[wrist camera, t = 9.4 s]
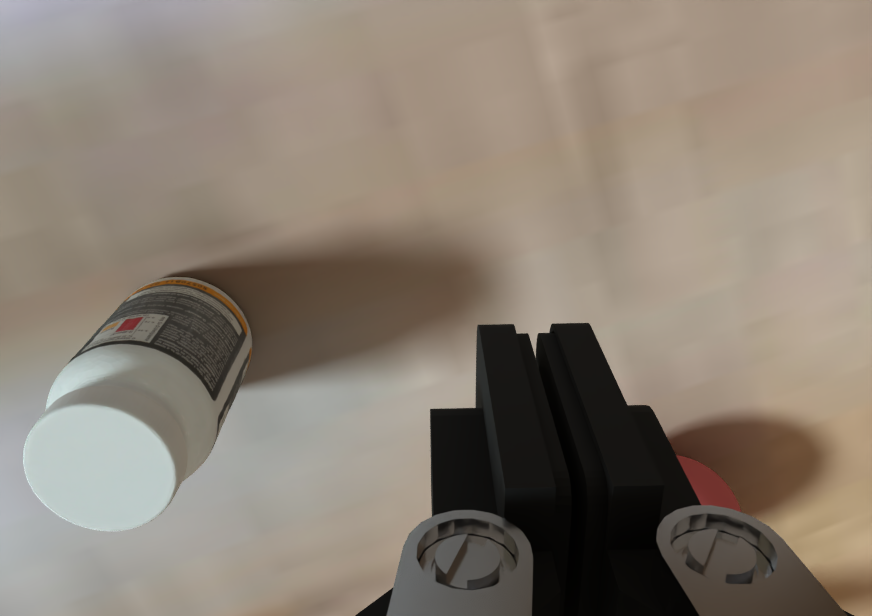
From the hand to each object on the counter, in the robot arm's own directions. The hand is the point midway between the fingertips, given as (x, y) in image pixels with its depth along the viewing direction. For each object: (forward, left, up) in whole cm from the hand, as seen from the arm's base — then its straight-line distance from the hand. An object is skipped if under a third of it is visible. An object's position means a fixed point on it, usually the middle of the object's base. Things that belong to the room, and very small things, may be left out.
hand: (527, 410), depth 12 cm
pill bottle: (+8, -11, -20) cm, 24 cm away
